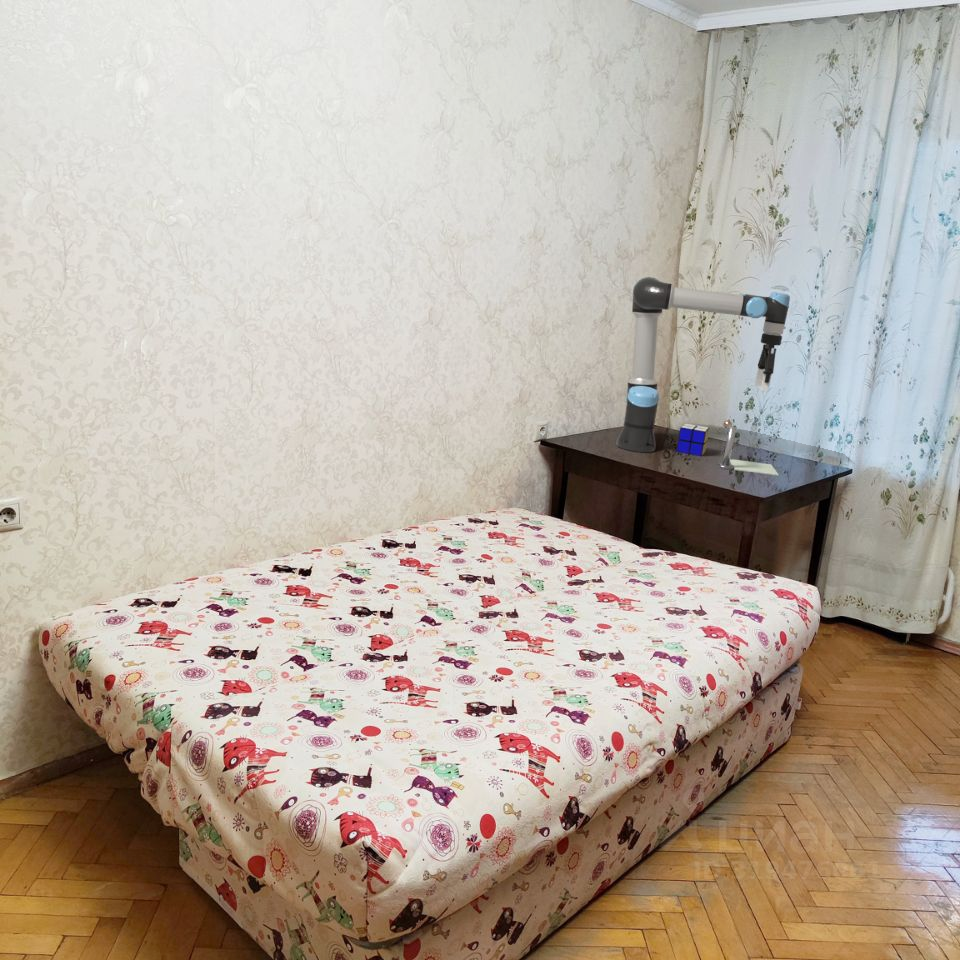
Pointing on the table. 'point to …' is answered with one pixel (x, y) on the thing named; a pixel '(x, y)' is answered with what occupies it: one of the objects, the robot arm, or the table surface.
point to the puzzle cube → (692, 439)
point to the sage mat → (753, 467)
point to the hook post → (728, 446)
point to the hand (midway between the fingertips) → (761, 388)
